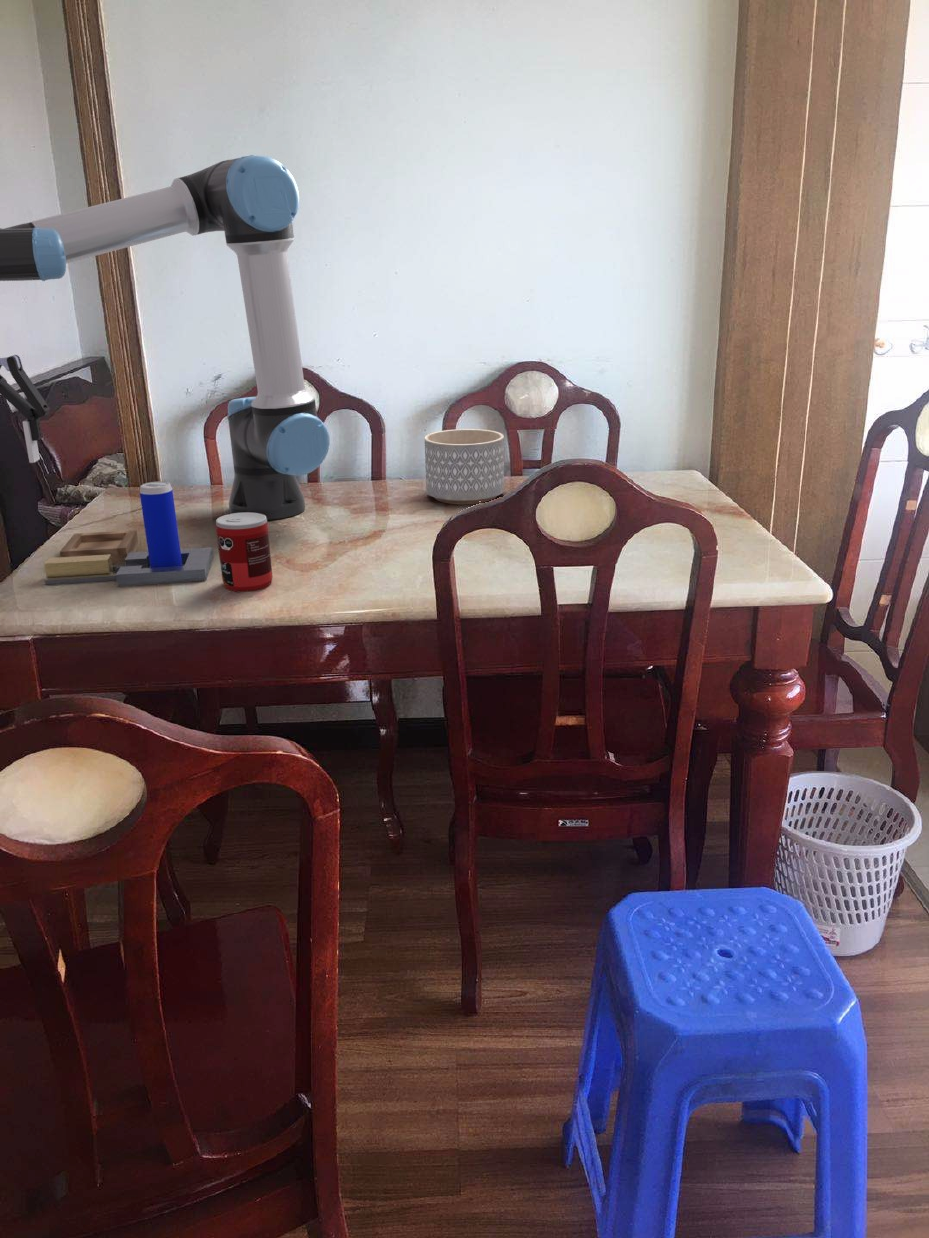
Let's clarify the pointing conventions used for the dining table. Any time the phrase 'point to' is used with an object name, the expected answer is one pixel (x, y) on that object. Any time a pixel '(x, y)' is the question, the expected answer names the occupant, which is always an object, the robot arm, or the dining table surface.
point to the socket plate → (151, 570)
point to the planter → (464, 465)
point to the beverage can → (160, 524)
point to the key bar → (79, 566)
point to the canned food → (244, 551)
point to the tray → (102, 544)
